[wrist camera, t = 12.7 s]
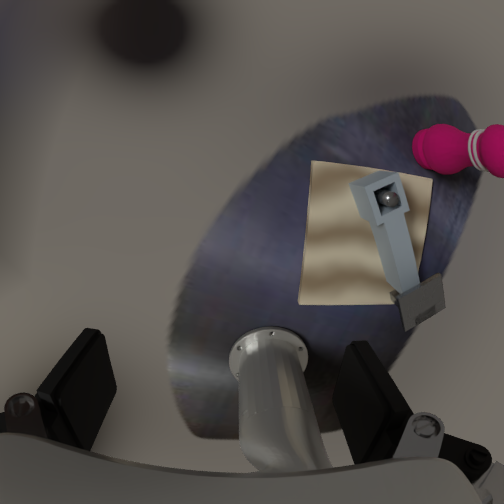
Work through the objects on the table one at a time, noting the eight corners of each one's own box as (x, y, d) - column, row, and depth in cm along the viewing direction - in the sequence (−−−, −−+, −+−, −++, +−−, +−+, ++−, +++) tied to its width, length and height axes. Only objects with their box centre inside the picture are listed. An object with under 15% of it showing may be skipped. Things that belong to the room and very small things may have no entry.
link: (407, 270, 41) (426, 283, 36) (381, 284, 42) (397, 299, 36) (378, 170, 37) (398, 172, 32) (348, 183, 37) (364, 186, 32)
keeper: (370, 272, 42) (398, 299, 33) (407, 253, 42) (441, 274, 33) (378, 301, 44) (405, 331, 35) (414, 282, 43) (445, 307, 34)
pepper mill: (451, 148, 37) (546, 154, 18) (431, 182, 39) (528, 203, 19) (422, 116, 36) (519, 103, 17) (401, 150, 37) (500, 152, 18)
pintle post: (372, 199, 39) (397, 207, 32) (361, 198, 39) (385, 206, 32) (373, 187, 39) (399, 192, 32) (362, 185, 39) (386, 191, 31)
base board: (407, 300, 44) (410, 303, 43) (297, 301, 43) (299, 304, 42) (428, 178, 38) (432, 179, 37) (311, 160, 37) (313, 160, 36)
